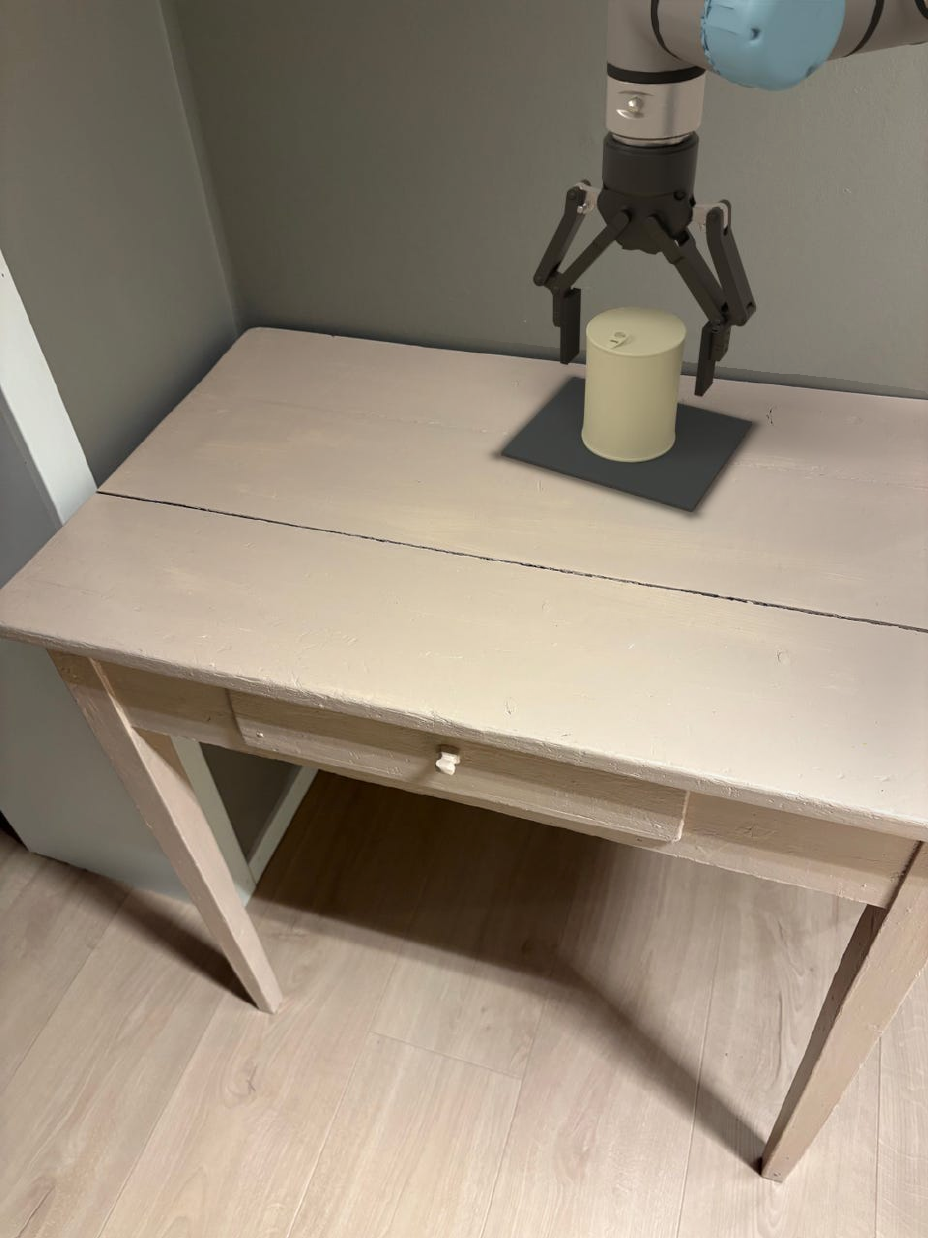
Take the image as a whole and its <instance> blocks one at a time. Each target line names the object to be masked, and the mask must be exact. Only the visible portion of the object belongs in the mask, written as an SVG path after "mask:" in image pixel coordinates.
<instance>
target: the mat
mask: <svg viewBox="0 0 928 1238" xmlns="http://www.w3.org/2000/svg"><path fill="white" fill-rule="evenodd" d="M585 382H586V378H585V379H584V378H581V377H577V376H573V377H572V378H571V379H570V380H569V381H568V382H567V383H565V385H564V386H563V387H562V388H561V389H560V390H559V391H558V392H557V394H555V395H554V397H552V398H551V399H550V400H549V401H548V402H547V404H545V405H544V407H543V408H541V409H540V411H539V412H537V414H536V415H535V416H534V417H532V419H531V420H530V421H529V422H528V423H527V424H526V425H525V426H524V427H523V428H522V429H521V430H520V431H519V432H518V434H516V436H515V437H513V438H512V439H511V440H510V441H509V442H508V444H507V445H506V446H504V448H502V450H501V451H500V455H501V456H504V457H507V458H510V459H514V460H517V461H521V462H524V463H528V464H531V465H533V466H537V467H541V468H543V469H548V470H550V471H554V472H557V473H560V474H564V475H568V476H571V477H575V478H577V479H581V480H584V481H588V482H591V483H594V484H598V485H601V486H603V487H608V488H612V489H614V490H618V491H621V492H624V493H628V494H630V495H634V496H637V497H641V498H645V499H648V500H651V501H653V502H658V503H661V504H664V505H667V506H671V507H673V508H678V509H681V510H684V511H688V512H690V513H691V512H693V511H694V510H695V509H696V507H697V506H698V505H699V503H700V501H701V500H702V499H703V497H704V495H706V492H707V491H708V489H709V488H710V486H711V485H712V483H713V482H714V481H715V479H717V476H718V475H719V474H720V473H721V471H722V470H723V468H724V466H725V465H726V464H727V462H728V460H729V459H730V458H731V456H732V455H733V453H734V452H735V450H736V449H737V447H738V446H739V445H740V443H741V442H742V440H743V439H744V437H745V436H746V434H747V433H748V431H749V430H750V428H751V427H752V425H753V421H751V420H747V419H743V418H740V417H739V418H738V417H736V416H732V415H727V414H724V413H719V412H717V411H716V412H715V411H712V410H708V409H704V408H699V407H696V406H691V405H688V404H683V403H680V402H677V411H676V421H675V441H674V444H673V446H672V447H671V448H670V450H668V451H667V452H666V453H665V454H663V455H661V456H659V457H657V458H655V459H652V460H648V461H643V462H633V463H628V462H617V461H612V460H608V459H605V458H602V457H600V456H598V455H596V454H594V453H593V452H591V451H590V450H589V449H588V448H587V447H586V446H585V444H584V442H583V440H582V429H583V423H584V407H585Z"/></svg>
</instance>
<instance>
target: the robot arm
mask: <svg viewBox="0 0 928 1238" xmlns="http://www.w3.org/2000/svg"><path fill="white" fill-rule="evenodd" d="M606 31H607V32H606V33H607V37H606V77H605V97H604V98H605V99H604V118H603V119H604V121H603V125H604V128H605V129H606V130H607V131H608V132H607V133H606V135H605V136H604V138H603V139H602V141H603V142H602V165H601V167H602V168H601V179H602V180H601V181H602V187H601V188H598V187H594V186H592V183H591V182H590V181H589V180H588V179H586V178H585V179H584V178H583V179H581V180H580V181H578V182H577V183H576V184H574V185H573V186H572V187H571V188H569V189H568V190H567V191H566V194H565V202H564V211H563V215H562V217H561V219H560V221H559V223H558V226H557V227H556V230H555V231H554V234H553V235H552V237H551V240H550V242H549V243H548V246H547V248H546V249H545V252H544V254H543V256H542V258H541V260H540V262H539V264H538V266H537V267H536V270H535V272H534V274H533V276H532V281H533V284H534V285H535V286H536V287H541V288H542V287H544V288H545V289H547V290H549V291H550V294H551V295H552V324H553V326H554V327H557V328H559V329H560V330H559V331H560V332H559V341H560V342H559V347H560V348H559V364H561V365H565V366H568V365H569V364H570V363H571V362H572V361H573V360H574V359H575V358H576V357H577V356H578V355H579V354H580V353H581V352H580V348H581V310H582V301H581V300H582V289H581V288H578V287H573V288H572V286H573V285H574V284H575V283H576V282H577V281H578V280H579V279H580V278H581V276H583V275H584V273H585V272H586V271H588V269H589V268H590V267H592V265H593V264H594V263H595V262H596V261H597V260H598V259H599V258H600V257H601V256H602V255H603V253H605V251H606V250H608V249H609V247H610V246H612V244H613V243H614V242H616V243H617V244H618V245H619V246H621V250H625V251H636V250H637V251H641V252H642V253H645V254H648V255H653V256H656V255H657V254H658V253H662V255H663V256H664V258H665V260H666V261H667V263H668V264H670V265H672V266H674V267H675V269H676V271H677V273H678V274H679V275H680V277H681V279H682V280H683V282H684V283H685V285H686V287H687V289H688V290H689V291H690V293H691V295H692V296H693V298H694V299H695V301H696V302H697V304H698V306H699V307H700V309H701V310H702V313H703V314H704V316H706V318H707V320H708V321H707V322H706V323H705V324H704V325H703V326H702V328H701V334H700V341H699V349H698V350H699V351H698V358H697V367H696V375H695V383H694V392H693V395H694V396H696V397H700V398H702V397H704V395H705V394H706V392H708V390H709V389H710V388H711V387H712V385H713V383H714V377H715V369H716V362H718V363H720V362H721V361H722V359H723V358H724V357H725V356H726V354H727V352H728V351H729V346H730V339H731V332H732V327H733V326H736V327H740V328H741V327H744V326H745V325H746V324H748V322H749V321H750V319H751V318H752V317H753V316H754V314H755V313H756V312H757V304H756V301H755V298H754V295H753V292H752V289H751V285H750V283H749V280H748V277H747V274H746V270H745V268H744V264H743V261H742V258H741V255H740V252H739V249H738V245H737V243H736V239H735V236H734V233H733V230H732V203H731V202H730V200H728V199H725V198H724V199H723V198H722V199H720V200H719V201H718V202H717V203H697V201H696V198H695V193H694V191H695V190H694V189H695V182H696V176H697V174H696V173H697V166H698V155H699V145H700V137H699V134H698V133H697V131H696V130H697V129H699V127H700V126H701V125H702V118H703V107H704V106H703V105H704V95H705V85H706V74H707V73H706V72H707V71H708V72H711V73H713V74H715V75H717V76H720V77H721V78H722V79H724V80H727V81H728V82H729V83H731V84H737V85H738V86H739V87H742V88H747V89H758V90H762V91H766V92H783V91H787V90H791V89H794V88H796V87H798V86H799V85H801V84H802V83H803V82H804V81H805V80H806V79H808V78H809V77H810V76H811V75H812V74H814V73H815V72H817V71H818V70H819V69H820V68H821V67H822V66H823V65H824V64H825V63H826V62H829V61H834V60H838V59H843V58H848V57H850V56H853V55H859V54H865V53H870V52H876V51H882V50H886V49H892V48H898V47H903V46H908V45H909V46H916V45H922V44H926V43H928V0H607V30H606ZM595 206H596V208H597V210H598V212H599V214H600V215H601V217H602V219H603V221H604V223H605V224H606V226H605V227H604V228H603V229H602V230H601V231H600V232H599V233H598V234H597V235H596V237H595V238H593V240H592V242H591V243H590V244H589V245H587V246H586V248H585V249H584V250H583V251H582V252H581V253H580V254H579V255H578V256H577V258H576V259H574V261H573V262H572V263H571V264H570V265H569V266H568V267H567V268H566V269H565V270H564V272H563V273H562V272H561V271H559V270H560V266H561V265H562V263H563V262H564V261H563V260H564V259H565V257H566V255H567V253H568V251H569V249H570V247H571V245H572V243H573V242H574V239H575V237H576V236H577V234H578V232H579V230H580V227H581V226H582V224H583V222H584V220H585V218H586V216H587V214H588V213H590V212H591V211H592V210H593V209H594V208H595ZM693 221H695V222H697V224H698V225H699V229H700V232H701V233H702V234H705V238H706V244H707V248H708V251H709V254H710V257H711V260H712V263H713V266H714V270H715V272H716V275H717V278H718V280H717V279H716V277H715V275H714V273H713V272H712V271H711V268H710V267H709V266H708V264H707V262H706V261H705V258H704V257H703V256H702V254H701V253H700V250H699V249H698V248H697V247H698V246H697V241H696V239H695V237H694V236H693V234H692V232H691V230H690V229H689V225H690V224H691V223H692V222H693ZM718 281H719V282H718Z"/></svg>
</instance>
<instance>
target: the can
mask: <svg viewBox="0 0 928 1238" xmlns="http://www.w3.org/2000/svg"><path fill="white" fill-rule="evenodd" d="M687 329H688V328H687V326H686V324H685V323H684V322H683V321H682V319H680V318H679V317H678V316H676V315H674V314H672V313H670V312H668V311H666V310H662V309H658V308H653V307H648V306H647V307H645V306H625V307H617V308H613V309H609V310H605V311H603V312H601V313H599V314H597V315H596V316H594V317H593V318H592V319H591V320H590V321H589V322H588V324H587V326H586V329H585V335H586V353H585V354H586V355H585V357H586V358H585V380H586V382H585V407H584V423H583V429H582V440H583V442H584V444H585V446H586V447H587V448H588V449H589V450H590V451H591V452H593V453H594V454H596V455H598V456H600V457H602V458H605V459H608V460H612V461H617V462H628V463H633V462H643V461H648V460H652V459H655V458H657V457H659V456H661V455H663V454H665V453H666V452H667V451H668V450H670V448H671V447H672V446H673V444H674V441H675V421H676V411H677V403H679V402H678V401H679V392H680V384H681V383H680V382H681V376H682V375H681V374H682V369H683V368H682V366H683V360H684V351H685V345H686V338H687V336H688V330H687Z"/></svg>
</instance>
